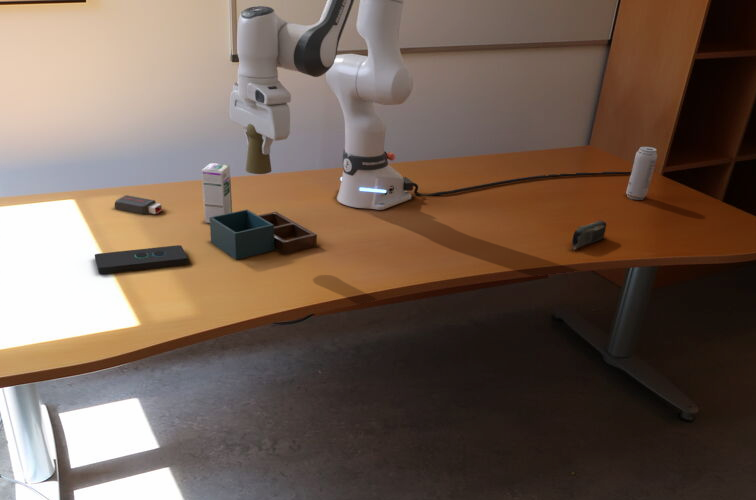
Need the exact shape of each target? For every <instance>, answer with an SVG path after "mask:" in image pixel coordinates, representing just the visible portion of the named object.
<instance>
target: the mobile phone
mask: <svg viewBox="0 0 756 500" xmlns="http://www.w3.org/2000/svg"><path fill="white" fill-rule="evenodd" d="M606 228H607V222H606V221H604V220H598V221H595V222H592V223H589V224H585V225H580V226H578V227H577V229H576V230H575V231H574V232H573V234H572V235H573V237H572V240H571V244H572V246H573V247H572V251H575V250H578V249H579V248H582V247H584V246H588V245H590V244H593V243H595V242H598V241H601V240H602V239H603V238H604V237H605V233H606V230H607V229H606Z"/></svg>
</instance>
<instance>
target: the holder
mask: <svg viewBox="0 0 756 500" xmlns="http://www.w3.org/2000/svg"><path fill="white" fill-rule="evenodd" d="M258 216H259V217H261V218H263V219H265V220H266V221H268V222H270V223H271V224H273V225H276V226H274V250H277V251H278V252H280V253H282V254H283V255H285V254H286V255H287V254H290V253H294V252H299V251H300V250H301V251H302V250H305V249H309V248H313V247H317V246H318V242H317V241H318V235H317V233H315V232H313V231H311V230H309V229H307V228H306V227H304V226H303V225H300V224H299V223H297V222H295V221H293V220H292V219H290V218H288V217H286V216H284V215H283V214H281V213H279V212H278V211H272V212H268V213H267V212H266V213H264V214H263V213H262V214H259V215H258ZM291 236H295V237H294V238H290V239H287V240H286V239H283V238H287V237H291Z"/></svg>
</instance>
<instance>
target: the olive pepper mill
mask: <svg viewBox="0 0 756 500" xmlns="http://www.w3.org/2000/svg"><path fill="white" fill-rule="evenodd" d="M247 134H248V136H249V145H248V146H247V155H246V164H245V172H247V173H249V174H253V175H266V174H270V173H271V172H272V164H271V155H270V154H266V155H264V154H262V153H261V152H260V150H261V149H260V146H261V145H262V144H263V141H264V140H263V139H262V135H261V134H259V133H257V132H256V130H255V127H254V126H253V125H252V124H248V126H247Z"/></svg>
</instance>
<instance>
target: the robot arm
mask: <svg viewBox="0 0 756 500" xmlns="http://www.w3.org/2000/svg"><path fill="white" fill-rule="evenodd" d="M404 1H405V0H359V6H358V12H357V18H356V25H355V26H356V30H357V33H358V34H359V36H360V37H361V38H362V39H363V40H364V41H365V44H366V46H367V56H366V55H361V54H356V53H342V54H337V53H338V48H339V43H340V39H341V37H342V34H343V32H344V30H345V26H346V24H347V21H348V19H349V16H350V13H351V10H352V8H353V5H354V2H355V0H327V1H326V3H325V5H324V8H323V10H322V13H321V16H320V19H319V21H317V22H316V23H313V24H310V25H305V24H299V23H294V22H289V21H287V20H286V19H283V18H281V17H280V16H278V14H277V13H276V11H275V9H274V8H272V7H270V6H265V5H257V6H251V7H247V8H245V9H244V10H242V11H241V12H240V14H239V16H238V21H237V29H236V53H237V57H238V60H239V61H238V68H237V80H236V82H234V84H233V85H232V91H231V92H230V96H229V97H230V98H229V118H230V121H231V123H234V124H236V125H238V126H241V127H243V133H244V136H245V139H246V146H247V147H248V145H249V136H248V134H247V126H248V124H252V125H253V126H254V127H255V130H256V132H257V133H259V134H261V135H262V139H263V140H264V141H263V144H262V145H261V146H260V149H261V150H260V152H261V153H262V154H264V155H266V154H269V155H270V154H271V146H272V144H273V142H274V141H283V140H287V139H288V137H289V136H290V132H291V109H290V105H289V104H290V103H291V101H292V95H291V92H290V91H289V90H288V89H287V88H286V87H285V86H284V85H283V84H282V82H281V80H279V71H278V68H280V69H284V70H288V71H293V72H299V73H301V74H304V75H306V76H307V75H308V76H309V77H313V78H319V77H322V76H323V75H325V78H326V84H327V86H328V87H329V89H330V90H331V91H332V92H333V94H334V95H335V97H336V98H337V100H338V103H339V105H340V108H341V111H342V115H343V119H344V149H343V151H342V175H341V177H340V186H339V190H338V193H337V196H336V200H337V201H338V202H339V203H340V204H342V205H344V206H347V207H351V208H358V209H371V210H377V211H381V210H382V211H383V210H386V209H388V208H391V207H393V206H397V205H399V204H402V203H405V202H407V201H410V200H412V194H411V192H412V191H414V192H413V193H414V194H415V196H419V197H420V196H423V197H424V196H425V197H436V196H442V195H443V196H444V195H451V194H456V193H463V192H466V191H471V190H477V189H483V188H488V187H494V186H499V185H504V184H505V185H506V184H509V183H516V182H524V181H529V180H531V181H532V180H539V179H550V178H560V177H576V176H577V177H578V176H601V175H602V176H603V175H607V176H608V175H631V172H617V171H601V172H602V173H588V172H589V171H586V172H587V173H586V172H585V171H584V172H575V173H576V174H566V173H552V174H543V175H535V176H533V175H532V176H525V177H519V178H513V179H507V180H501V181H494V182H488V183H485V184H479V185H473V186H468V187H462V188H457V189H453V190H447V191H438V192H432V193H427V194H422V193H419V192H418V190H419V185H418V183H415V182H414V181H412V180H411V179H409V178H408V177H406V176H404V177H403V176H402V175H401V174H400V173H399V172H398V171H397V170H396V169H395V168H393V167H392V166H391V165H390V164H389V161H391V162H393V161H394V160H395V159H396V154H395V153H393V152H391V151H389V152H386V151H385V143H386V131H387V127H386V123H385V121H384V119H383V118H382V117H381V116H380V115H379V114H378V112H377V110H376V109H375V106H374V104H379V105H384V106H395V105H396V106H397V105H398V106H399V105H402V104H403V103H405V102H406V101H407V100H408V98H409V97H410V95H411V93H412V90H413V85H414V80H413V79H414V78H413V73H412V72H411V70H410V69H409V67H408V65H406V62H405V60H404V58H403V56H402V53H401V48H400V39H399V37H400V27H401V26H400V25H401V18H402V14H403V13H402V11H403V8H404ZM288 103H289V104H288ZM388 160H389V161H388ZM556 174H557V175H556ZM558 174H560V175H558ZM546 175H548V176H546ZM409 191H411V192H409Z"/></svg>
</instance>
